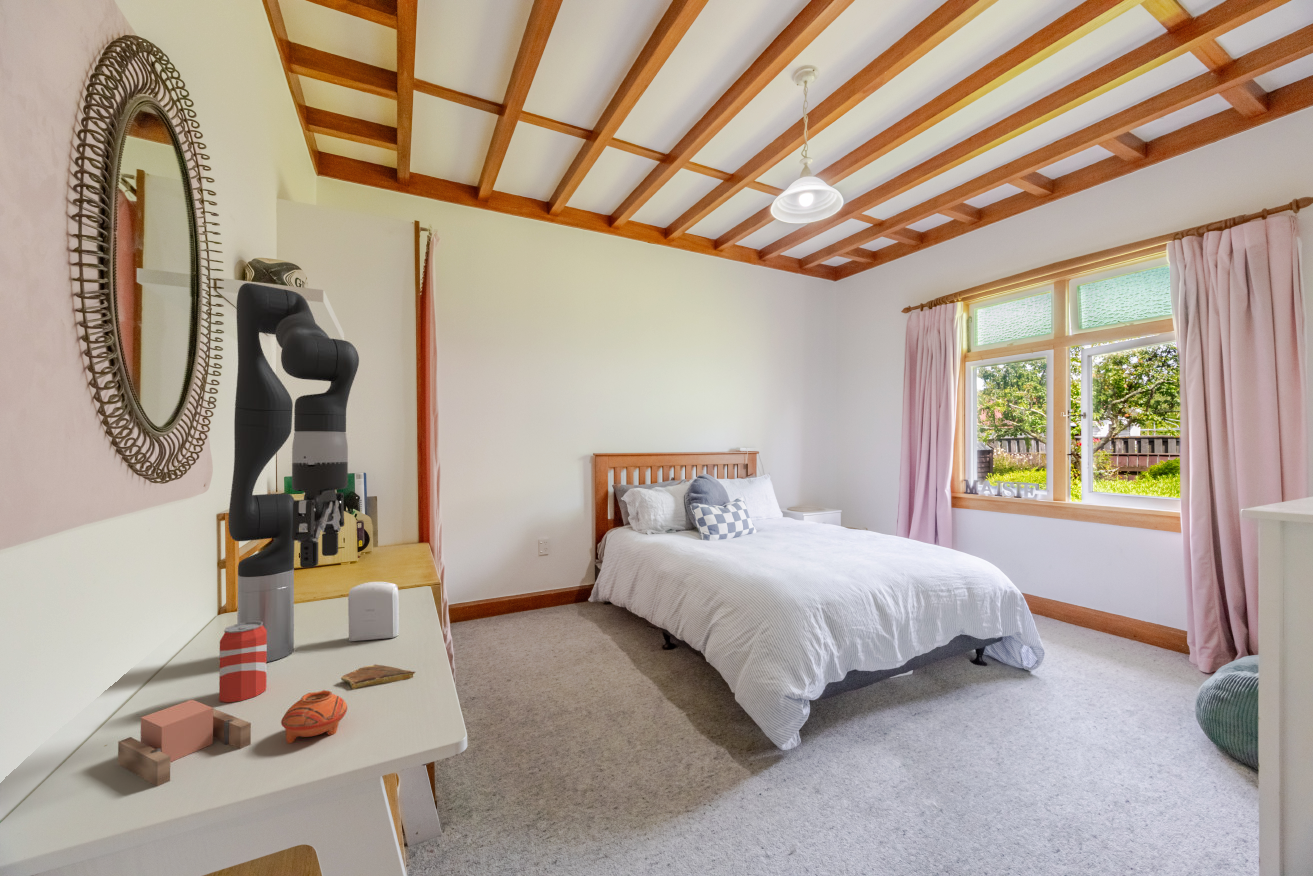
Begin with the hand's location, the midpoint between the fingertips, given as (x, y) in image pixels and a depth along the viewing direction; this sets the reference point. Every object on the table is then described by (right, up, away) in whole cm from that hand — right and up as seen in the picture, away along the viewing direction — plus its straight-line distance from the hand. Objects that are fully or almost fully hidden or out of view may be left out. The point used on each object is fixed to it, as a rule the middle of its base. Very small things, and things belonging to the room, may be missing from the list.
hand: (320, 560), depth 82 cm
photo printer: (-9, -25, +32) cm, 42 cm away
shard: (+3, -25, +12) cm, 28 cm away
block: (-12, -23, -12) cm, 29 cm away
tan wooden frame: (-8, -24, -14) cm, 28 cm away
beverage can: (-16, -25, +5) cm, 30 cm away
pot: (+5, -24, -8) cm, 26 cm away
